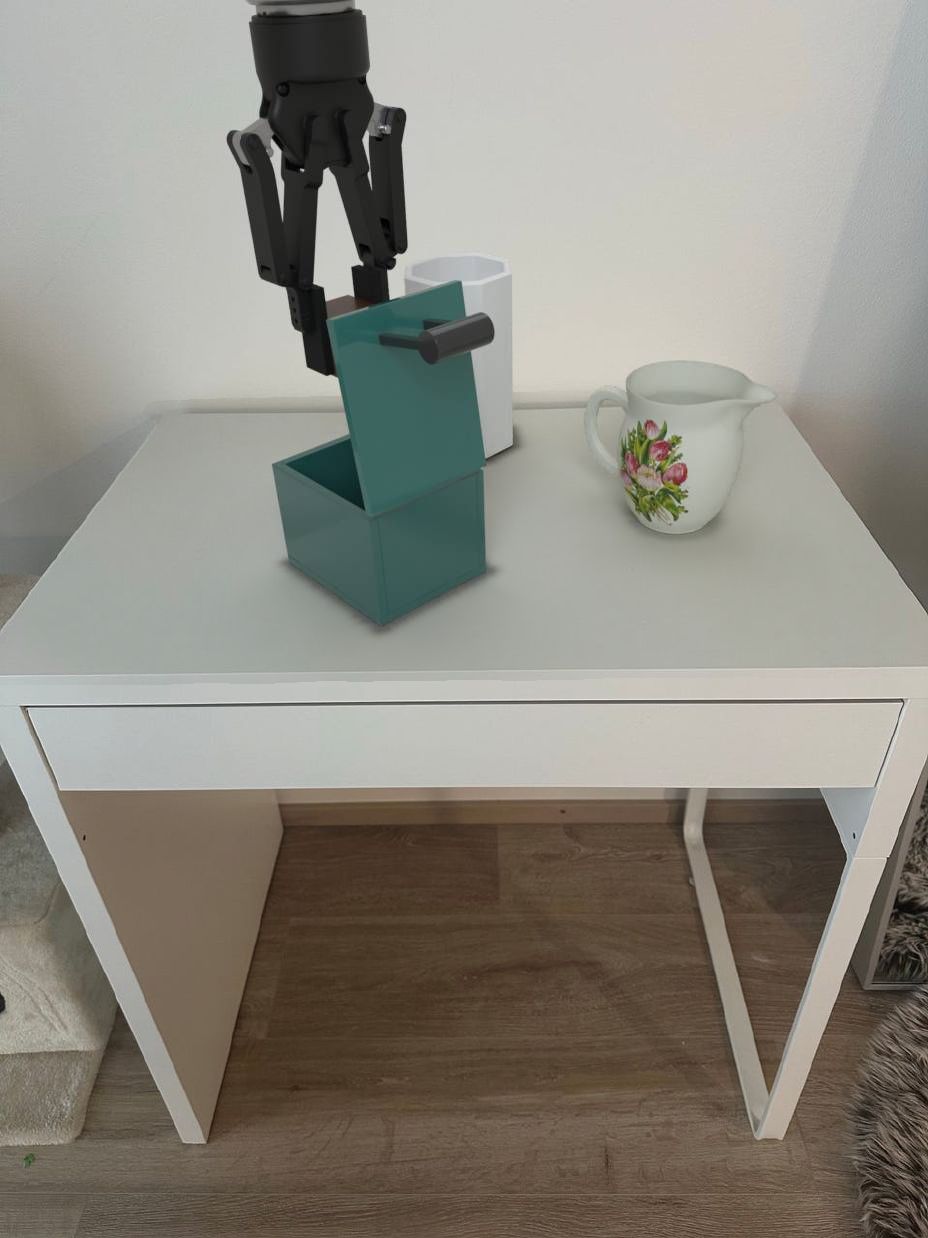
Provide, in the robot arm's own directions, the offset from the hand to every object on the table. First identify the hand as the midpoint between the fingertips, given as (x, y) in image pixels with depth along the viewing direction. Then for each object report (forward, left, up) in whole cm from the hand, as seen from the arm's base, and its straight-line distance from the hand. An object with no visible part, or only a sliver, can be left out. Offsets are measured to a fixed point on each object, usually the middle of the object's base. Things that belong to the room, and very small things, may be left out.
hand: (347, 360), depth 74 cm
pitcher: (+20, +19, -18) cm, 33 cm away
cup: (-5, +24, -18) cm, 31 cm away
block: (0, 0, 0) cm, 0 cm away
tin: (+2, -1, -18) cm, 18 cm away
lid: (+7, -2, -1) cm, 8 cm away
